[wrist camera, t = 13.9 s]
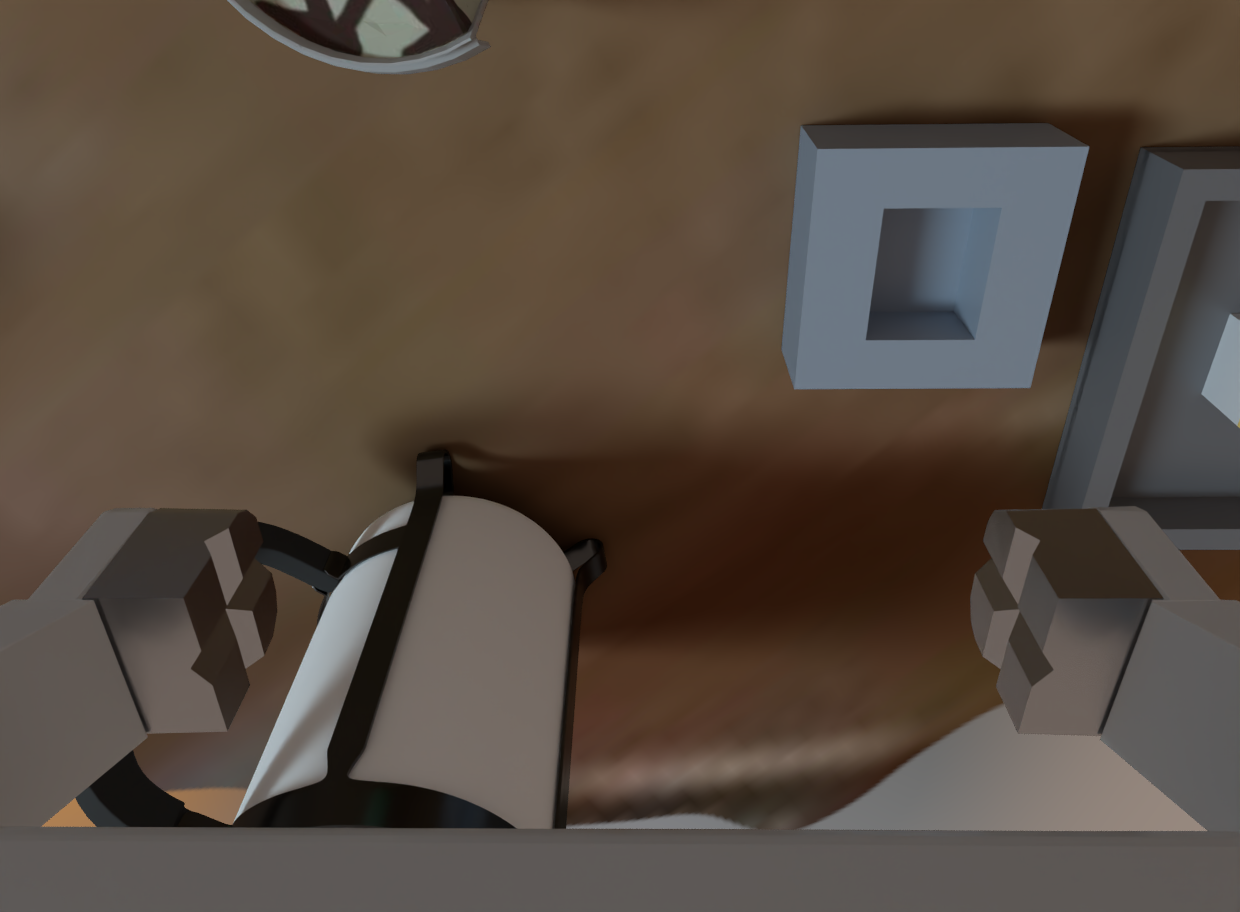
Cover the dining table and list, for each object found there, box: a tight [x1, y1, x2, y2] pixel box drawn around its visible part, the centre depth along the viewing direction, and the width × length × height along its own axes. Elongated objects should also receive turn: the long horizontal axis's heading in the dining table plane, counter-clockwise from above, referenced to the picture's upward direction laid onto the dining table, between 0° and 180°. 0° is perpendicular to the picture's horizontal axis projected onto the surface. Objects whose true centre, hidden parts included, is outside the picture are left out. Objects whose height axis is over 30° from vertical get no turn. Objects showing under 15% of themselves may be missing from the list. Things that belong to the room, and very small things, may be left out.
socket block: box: [782, 123, 1089, 389], centre depth 39 cm, size 10×10×4 cm
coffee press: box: [76, 450, 607, 829], centre depth 37 cm, size 17×16×30 cm
